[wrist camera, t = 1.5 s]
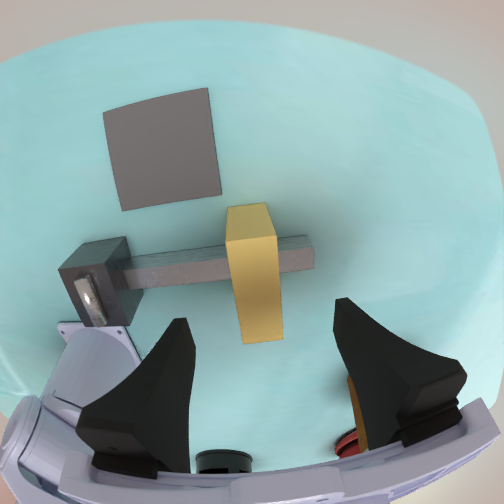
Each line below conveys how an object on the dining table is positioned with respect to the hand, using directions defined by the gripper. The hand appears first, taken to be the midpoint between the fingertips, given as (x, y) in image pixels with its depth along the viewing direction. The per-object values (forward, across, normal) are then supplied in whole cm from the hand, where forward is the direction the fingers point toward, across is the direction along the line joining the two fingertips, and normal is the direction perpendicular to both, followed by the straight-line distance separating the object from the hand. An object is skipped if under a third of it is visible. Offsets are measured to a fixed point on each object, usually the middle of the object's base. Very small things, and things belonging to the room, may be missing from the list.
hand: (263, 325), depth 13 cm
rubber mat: (+8, +5, -8) cm, 12 cm away
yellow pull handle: (+8, 0, 0) cm, 8 cm away
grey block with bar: (+8, +4, 0) cm, 9 cm away
